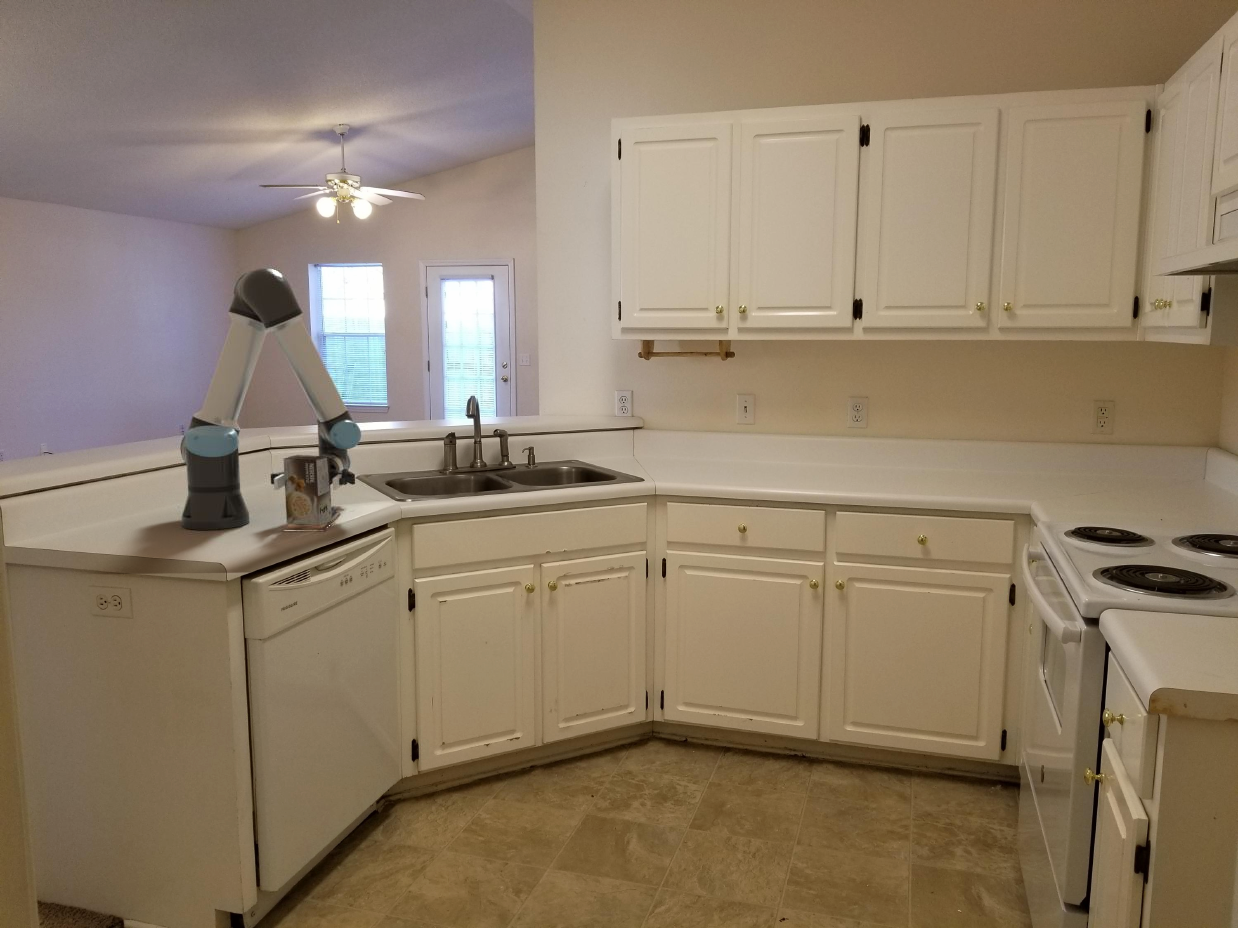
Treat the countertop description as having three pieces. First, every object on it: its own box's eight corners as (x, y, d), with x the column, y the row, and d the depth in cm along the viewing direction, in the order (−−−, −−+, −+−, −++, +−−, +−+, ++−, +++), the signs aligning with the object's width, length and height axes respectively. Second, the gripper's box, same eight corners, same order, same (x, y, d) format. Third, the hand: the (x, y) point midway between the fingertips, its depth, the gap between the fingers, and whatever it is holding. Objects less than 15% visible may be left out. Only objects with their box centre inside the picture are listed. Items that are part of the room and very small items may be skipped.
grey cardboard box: (333, 520, 221) (331, 455, 218) (319, 526, 215) (317, 459, 212) (299, 518, 223) (297, 454, 220) (284, 523, 216) (282, 457, 214)
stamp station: (283, 531, 213) (282, 523, 213) (302, 515, 231) (302, 507, 231) (324, 531, 214) (324, 522, 214) (340, 515, 232) (340, 507, 232)
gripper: (374, 484, 237) (359, 499, 216) (276, 484, 235) (251, 499, 214) (373, 456, 236) (358, 468, 215) (275, 456, 233) (250, 468, 213)
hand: (305, 484), depth 214 cm, fingers open, 13 cm apart
